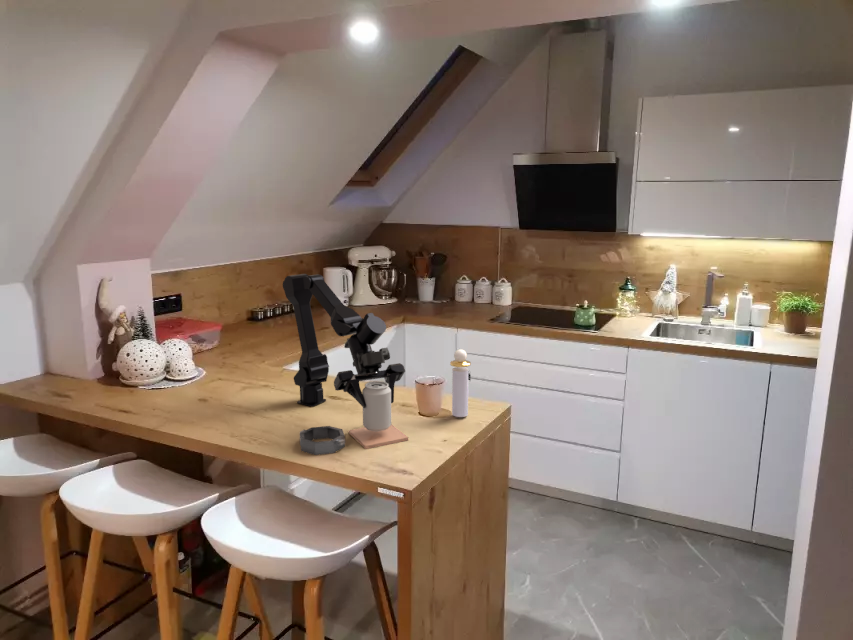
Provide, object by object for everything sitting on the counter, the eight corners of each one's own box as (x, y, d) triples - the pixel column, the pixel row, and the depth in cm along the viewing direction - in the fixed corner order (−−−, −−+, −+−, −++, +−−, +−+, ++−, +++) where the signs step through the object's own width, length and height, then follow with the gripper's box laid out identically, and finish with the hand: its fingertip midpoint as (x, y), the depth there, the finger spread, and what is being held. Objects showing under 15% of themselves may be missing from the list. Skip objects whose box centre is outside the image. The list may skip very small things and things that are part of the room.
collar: (287, 447, 164) (287, 436, 163) (316, 433, 173) (315, 422, 173) (329, 458, 157) (328, 447, 157) (356, 443, 167) (356, 432, 166)
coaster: (348, 432, 173) (348, 430, 173) (389, 425, 179) (389, 422, 179) (365, 448, 163) (365, 446, 163) (408, 440, 168) (408, 437, 168)
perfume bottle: (461, 421, 181) (461, 353, 177) (445, 416, 185) (446, 349, 181) (474, 416, 185) (475, 349, 181) (458, 411, 189) (459, 345, 185)
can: (391, 421, 174) (391, 379, 172) (391, 432, 167) (390, 388, 164) (363, 422, 174) (363, 379, 171) (362, 432, 167) (361, 388, 164)
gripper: (336, 342, 165) (352, 396, 158) (402, 334, 173) (420, 385, 166) (327, 363, 173) (342, 416, 166) (390, 355, 182) (407, 404, 175)
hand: (378, 404), depth 168 cm, fingers closed on can, 7 cm apart
